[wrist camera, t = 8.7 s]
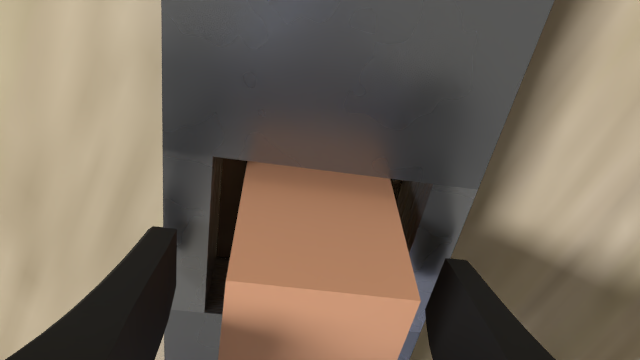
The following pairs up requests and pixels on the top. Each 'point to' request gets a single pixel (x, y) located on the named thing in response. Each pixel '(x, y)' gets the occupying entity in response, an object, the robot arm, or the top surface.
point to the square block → (317, 269)
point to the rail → (332, 119)
